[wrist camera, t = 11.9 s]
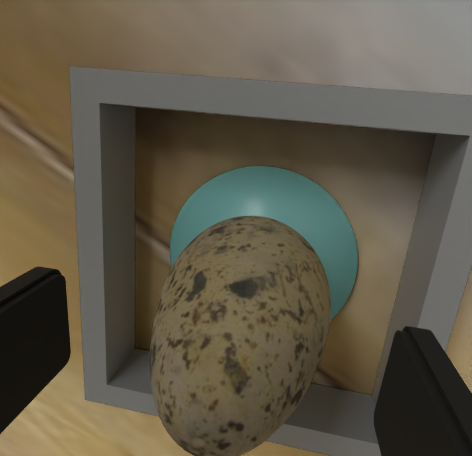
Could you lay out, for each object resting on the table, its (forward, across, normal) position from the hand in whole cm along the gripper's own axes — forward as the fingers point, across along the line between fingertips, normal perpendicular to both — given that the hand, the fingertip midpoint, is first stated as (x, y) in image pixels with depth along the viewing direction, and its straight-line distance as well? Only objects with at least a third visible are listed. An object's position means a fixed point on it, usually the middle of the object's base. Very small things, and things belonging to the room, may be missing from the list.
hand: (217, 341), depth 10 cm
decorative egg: (+7, 0, 0) cm, 8 cm away
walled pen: (+8, 0, 0) cm, 8 cm away
